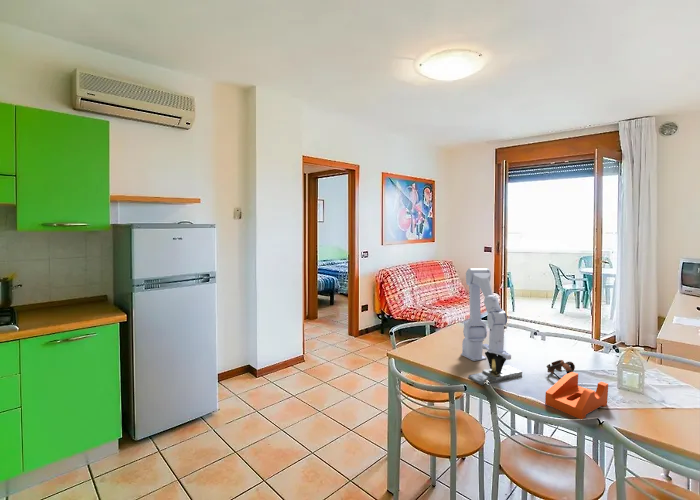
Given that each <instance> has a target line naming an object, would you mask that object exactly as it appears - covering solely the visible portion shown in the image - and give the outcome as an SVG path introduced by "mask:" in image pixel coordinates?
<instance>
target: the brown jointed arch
mask: <svg viewBox="0 0 700 500" xmlns="http://www.w3.org/2000/svg"><path fill="white" fill-rule="evenodd" d="M546 368H547V373H551V374H553V375H554V373H555V371H556V372H557V371H558V372H559V373H562V372H563V370H562V368H563V369H564V371H566V374H568V373H571V372H574V371H575V369H576V366H575V363H574V362H572V361H566V362H564V359H558V360H556V361H553V362H551V364H550V363H549V364H547V365H546Z"/></svg>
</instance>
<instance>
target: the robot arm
mask: <svg viewBox="0 0 700 500" xmlns="http://www.w3.org/2000/svg"><path fill="white" fill-rule="evenodd" d="M491 276H492V275H491V271H490V269H489V268H488V267H485V268H483V267H482V268H478V267H477V268H471V267H469V268H467V270H466V272H465V282H466V283H465V284H466V285H467V286H468V289H469V290H468V291H469V319H468V320H466V321H465V322H464V323H463V324H464V325H463V331H462V332H463V337H464V338H463V339H462V345H461V346H462V348H461V352H462V353H460V355H461V356H463V357H465V358H467V359H468V360H470V361H473V362H475V361H481V360H486V359H487V361H488V365H489V369H492V358H494V359H495V363H496V372H501V370H502V367H503V366H504V364H505V362H506V361H510V360H512V355H511V354H510V353H509V352H508V351H506V350H505V349H504V344H505V343H504V340H505V325H507V323H508V316H507V312H506V311H505V310H504V309H502V308H501V305H500V302H499V300H498V297H497V296H496V295H495V296H494V293H493V291H492V290H493V289H492V287H491V283H490V282H491ZM481 293H482V294H483V296H484V299H483V304H484V306H485V310H486V312H487V320H486V321H487V323H488V325H487V324H486V323H485V322H484V321H483V320H482V319H481V317H482V316H481V315H482V314H481V312H482V311H481ZM487 326H488V329H489V333H488V331H487V330H488V329H487ZM488 334H489V337H488ZM487 337H488V339H489V341H488V344H487V343H484V341H485V339H487ZM484 350H486V351H485V352H484V354H485V355H483V351H484Z"/></svg>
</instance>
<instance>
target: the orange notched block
mask: <svg viewBox="0 0 700 500" xmlns="http://www.w3.org/2000/svg"><path fill="white" fill-rule="evenodd" d="M608 395H609V383H607V382H604V381H599V382H597V385H596V390H593V389H590V388H586V387H583V386H580V385H579V373H578V372H574V371H573V372H571V373H568V374H567V373H566V374H565V375H563V376H562V377H561V378H559V380H558V381H556V382H555V383H554V384H552V386H551V387H549V388H548V389H547V390H546V391H545V397H544V398H545V399H544V403H545V405H546V406H549V407H551V408H553V409H556V410H558V411H560V412H563V413H565V414H566V415H567V414H568V415H570V416H572V417H575V418H577V419H579V420H581V419H582V420H584V419H586V417H587V416H586V415H588V414H589V413H592V412H593V411H595V410H597V409H599V408H600V407H603V408H604V407H606V406H608ZM583 418H584V419H583Z"/></svg>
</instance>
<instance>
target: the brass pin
mask: <svg viewBox="0 0 700 500" xmlns="http://www.w3.org/2000/svg"><path fill="white" fill-rule="evenodd" d="M492 374H494V375H498V374H499V372H496V363H495V359H494V358H492Z"/></svg>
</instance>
